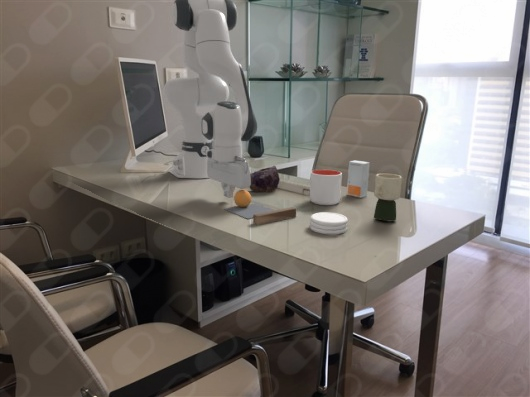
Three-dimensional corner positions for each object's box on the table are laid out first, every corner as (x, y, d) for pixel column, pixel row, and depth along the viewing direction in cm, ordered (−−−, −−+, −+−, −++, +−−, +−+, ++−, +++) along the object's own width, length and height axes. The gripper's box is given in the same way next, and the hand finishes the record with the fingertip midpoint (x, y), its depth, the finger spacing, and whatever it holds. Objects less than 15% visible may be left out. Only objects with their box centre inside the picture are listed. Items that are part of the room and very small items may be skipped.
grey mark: (224, 209, 134) (224, 208, 134) (256, 203, 141) (256, 203, 141) (247, 219, 125) (247, 218, 125) (280, 212, 132) (280, 211, 132)
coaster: (322, 221, 125) (323, 209, 124) (353, 229, 119) (354, 216, 118) (302, 229, 118) (302, 217, 117) (334, 238, 111) (335, 225, 111)
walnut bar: (253, 223, 121) (253, 214, 121) (291, 215, 130) (291, 206, 129) (257, 225, 120) (257, 216, 119) (295, 216, 128) (296, 208, 127)
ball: (243, 195, 132) (238, 211, 134) (256, 194, 135) (252, 209, 138) (232, 187, 135) (228, 202, 137) (246, 186, 139) (242, 201, 141)
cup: (322, 196, 152) (323, 168, 149) (346, 202, 145) (348, 172, 142) (303, 201, 145) (304, 172, 142) (327, 208, 138) (329, 176, 135)
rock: (247, 193, 160) (263, 198, 152) (244, 170, 157) (260, 174, 150) (272, 184, 166) (289, 189, 158) (270, 162, 164) (286, 166, 156)
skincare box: (346, 195, 155) (348, 161, 152) (352, 193, 158) (354, 160, 155) (361, 198, 151) (363, 163, 148) (367, 196, 154) (370, 162, 151)
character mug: (384, 213, 133) (388, 171, 129) (405, 219, 128) (410, 175, 124) (363, 220, 126) (366, 176, 122) (384, 226, 120) (388, 180, 117)
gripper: (256, 158, 133) (255, 202, 136) (219, 149, 148) (219, 189, 152) (238, 160, 129) (238, 205, 133) (203, 151, 145) (203, 192, 148)
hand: (228, 196), depth 142 cm, fingers closed
